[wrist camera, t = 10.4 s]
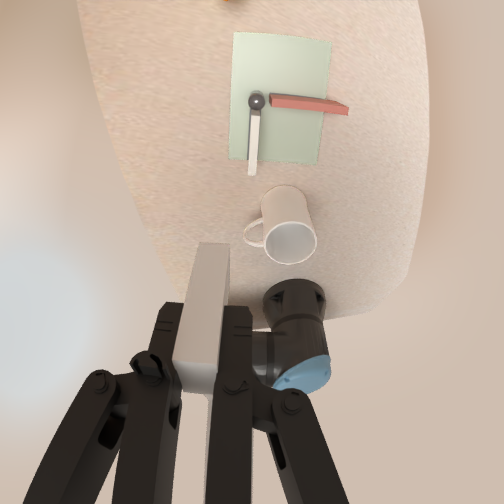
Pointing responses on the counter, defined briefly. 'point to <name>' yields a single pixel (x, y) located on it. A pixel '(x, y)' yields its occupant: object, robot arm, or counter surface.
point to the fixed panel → (253, 142)
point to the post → (256, 100)
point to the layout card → (278, 83)
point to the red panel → (307, 104)
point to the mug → (285, 226)
